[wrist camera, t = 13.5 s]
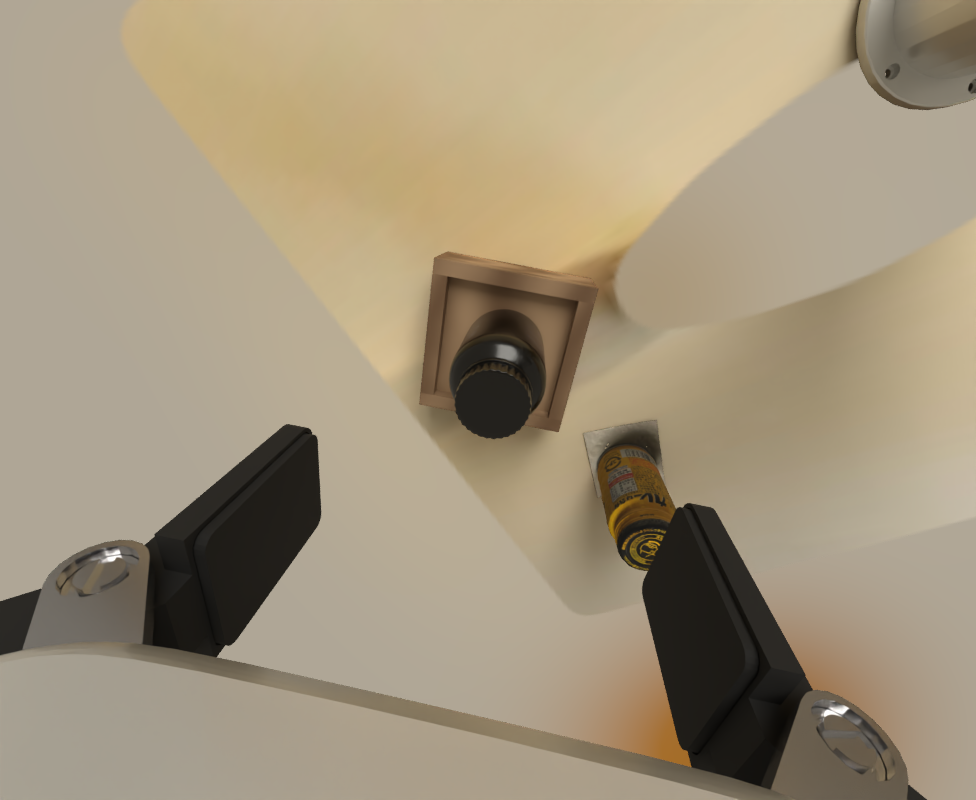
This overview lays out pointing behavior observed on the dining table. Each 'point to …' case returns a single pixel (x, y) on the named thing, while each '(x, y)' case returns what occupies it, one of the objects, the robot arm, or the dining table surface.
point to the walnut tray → (498, 285)
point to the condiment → (631, 488)
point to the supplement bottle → (498, 374)
